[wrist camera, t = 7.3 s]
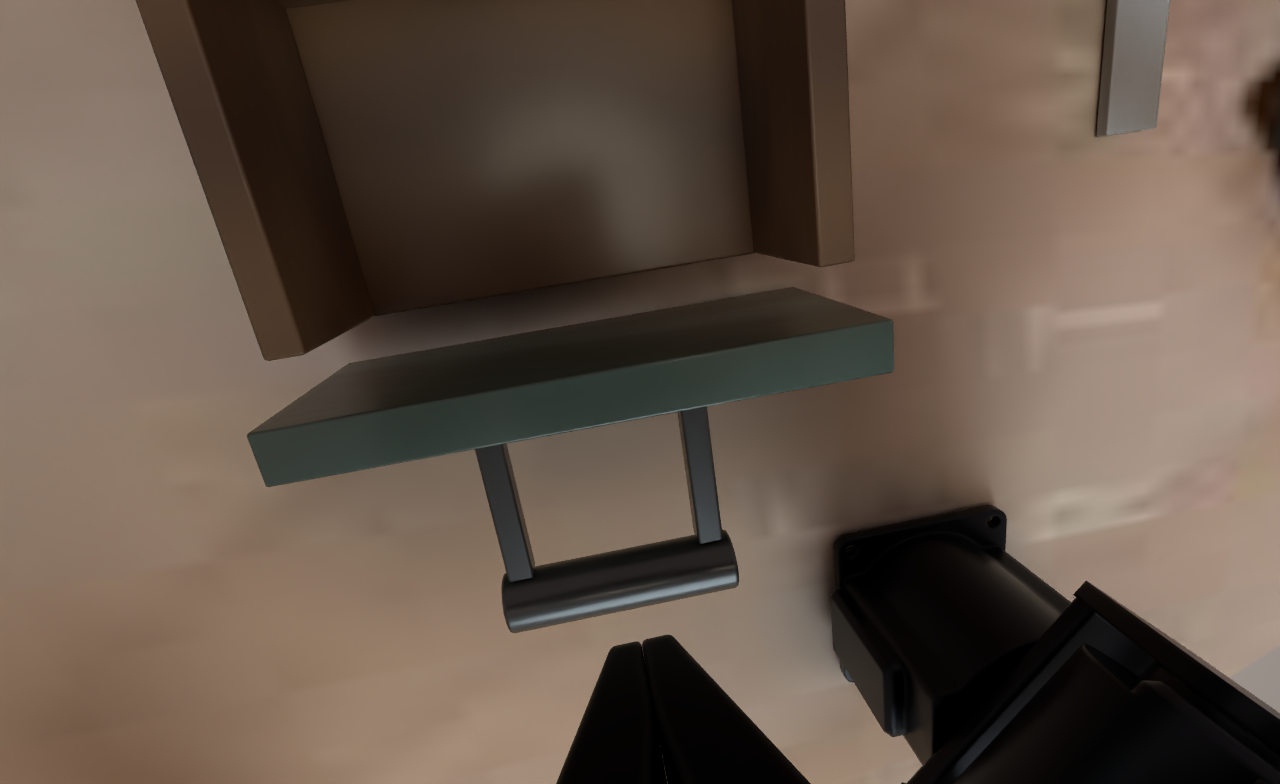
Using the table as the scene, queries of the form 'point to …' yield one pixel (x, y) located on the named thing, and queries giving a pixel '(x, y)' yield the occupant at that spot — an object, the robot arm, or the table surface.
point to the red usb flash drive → (1132, 65)
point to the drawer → (525, 229)
